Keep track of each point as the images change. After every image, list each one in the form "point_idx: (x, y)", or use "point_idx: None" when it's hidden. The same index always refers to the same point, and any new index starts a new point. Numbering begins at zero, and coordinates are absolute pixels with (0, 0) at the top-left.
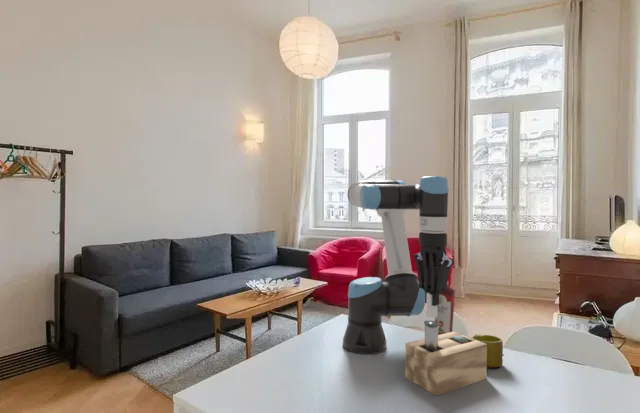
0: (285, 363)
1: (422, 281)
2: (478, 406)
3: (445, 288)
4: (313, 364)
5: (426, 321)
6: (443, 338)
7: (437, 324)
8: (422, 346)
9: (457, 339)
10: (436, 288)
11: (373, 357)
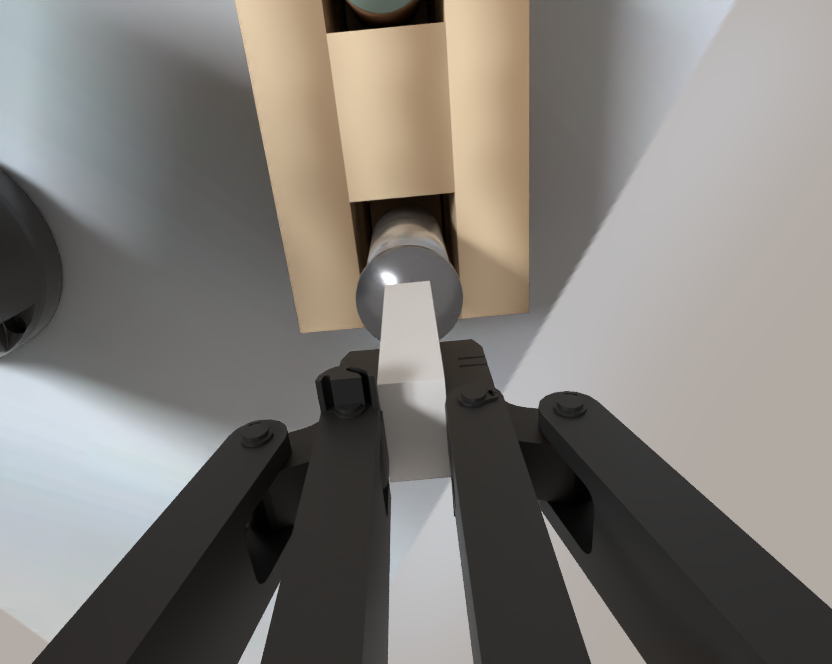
0: (95, 573)
1: (274, 571)
2: (628, 166)
3: (618, 431)
4: (122, 507)
5: (371, 315)
6: (311, 62)
7: (461, 289)
8: (359, 266)
9: (390, 2)
10: (554, 525)
11: (101, 284)
